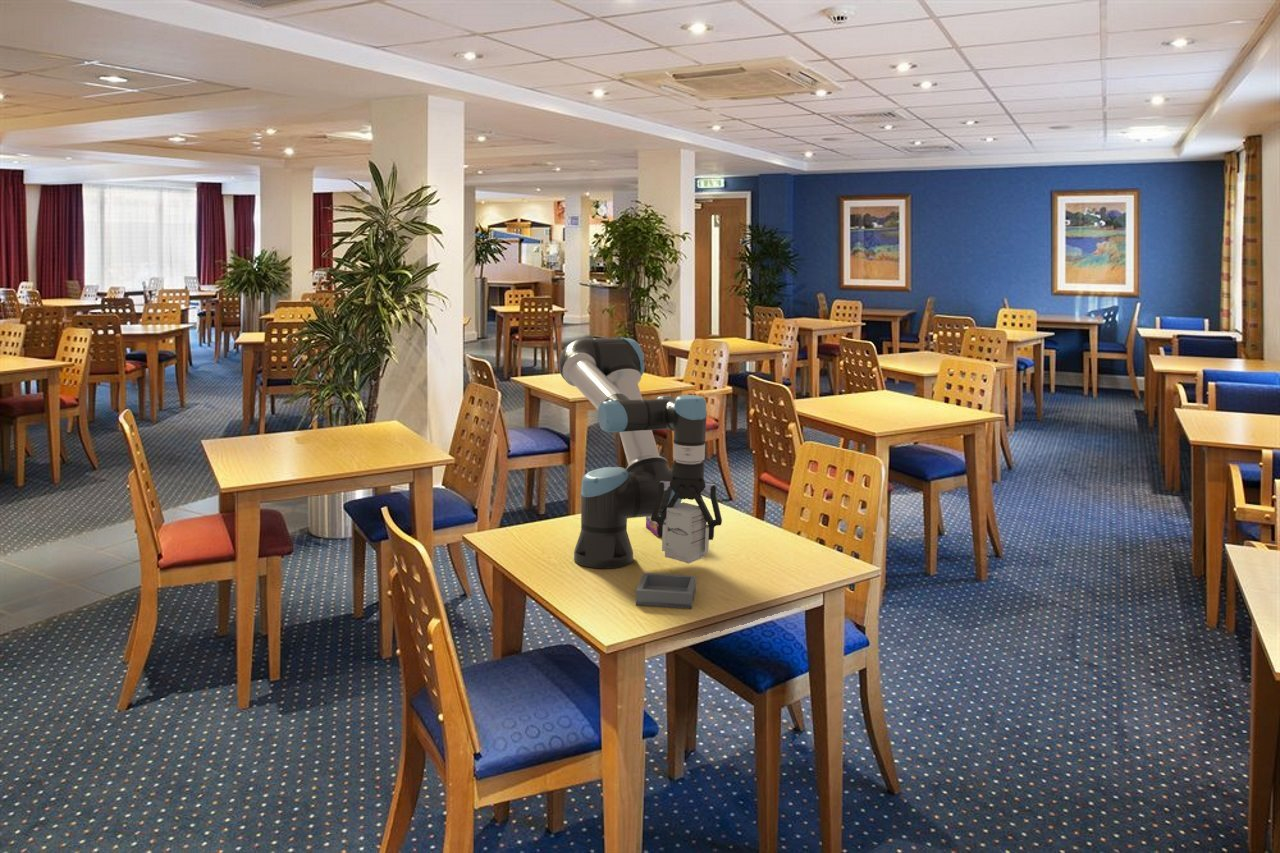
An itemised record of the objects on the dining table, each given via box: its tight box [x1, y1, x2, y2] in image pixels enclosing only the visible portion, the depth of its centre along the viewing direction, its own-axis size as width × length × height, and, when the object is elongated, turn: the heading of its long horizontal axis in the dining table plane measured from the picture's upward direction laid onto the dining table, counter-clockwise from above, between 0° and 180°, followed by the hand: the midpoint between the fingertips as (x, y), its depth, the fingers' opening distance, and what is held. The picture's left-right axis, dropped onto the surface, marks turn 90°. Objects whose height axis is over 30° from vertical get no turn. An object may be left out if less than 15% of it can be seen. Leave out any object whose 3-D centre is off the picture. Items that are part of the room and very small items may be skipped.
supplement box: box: [664, 501, 709, 564], centre depth 227 cm, size 7×7×13 cm
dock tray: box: [635, 572, 697, 610], centre depth 214 cm, size 12×12×4 cm
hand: (685, 550), depth 228 cm, fingers closed on supplement box, 10 cm apart
